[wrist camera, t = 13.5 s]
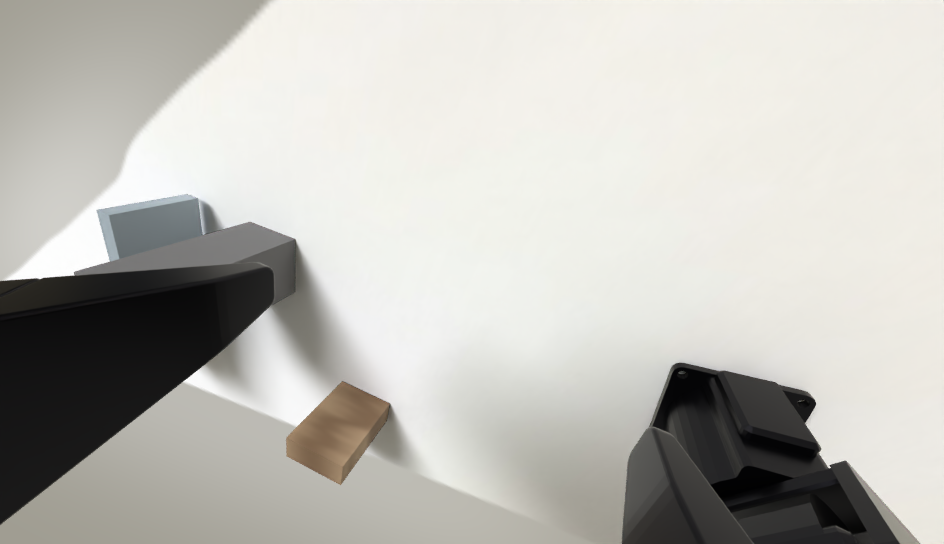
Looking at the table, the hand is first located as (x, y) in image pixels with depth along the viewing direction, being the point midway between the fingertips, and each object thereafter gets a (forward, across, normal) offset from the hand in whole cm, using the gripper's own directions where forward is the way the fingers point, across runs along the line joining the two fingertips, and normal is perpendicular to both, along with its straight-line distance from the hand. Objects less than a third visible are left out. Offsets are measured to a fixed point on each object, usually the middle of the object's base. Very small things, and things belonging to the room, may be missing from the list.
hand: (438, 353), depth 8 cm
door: (+13, +25, +13) cm, 31 cm away
